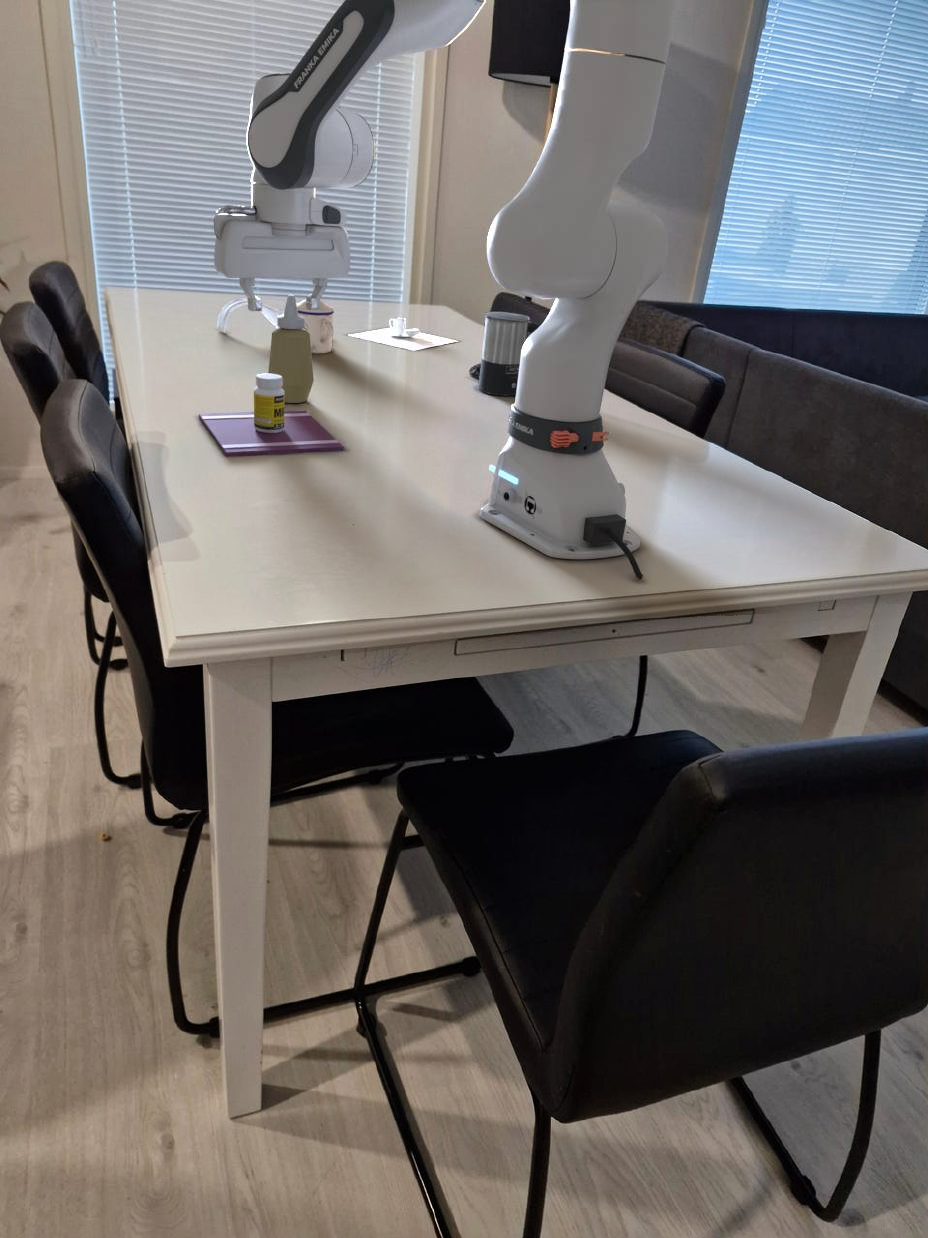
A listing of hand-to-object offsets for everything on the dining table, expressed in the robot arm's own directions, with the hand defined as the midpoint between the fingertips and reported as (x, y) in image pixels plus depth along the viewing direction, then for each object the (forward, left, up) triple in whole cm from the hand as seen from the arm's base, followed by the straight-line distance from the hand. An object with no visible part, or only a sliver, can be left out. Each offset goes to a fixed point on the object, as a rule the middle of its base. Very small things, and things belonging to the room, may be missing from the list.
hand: (284, 309), depth 130 cm
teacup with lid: (+59, -24, -19) cm, 66 cm away
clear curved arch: (+80, -19, -19) cm, 84 cm away
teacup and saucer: (+73, -51, -19) cm, 91 cm away
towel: (+1, +2, -19) cm, 19 cm away
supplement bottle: (+1, +2, -19) cm, 19 cm away
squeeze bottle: (+20, -7, -19) cm, 28 cm away
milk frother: (+27, -52, -19) cm, 62 cm away
